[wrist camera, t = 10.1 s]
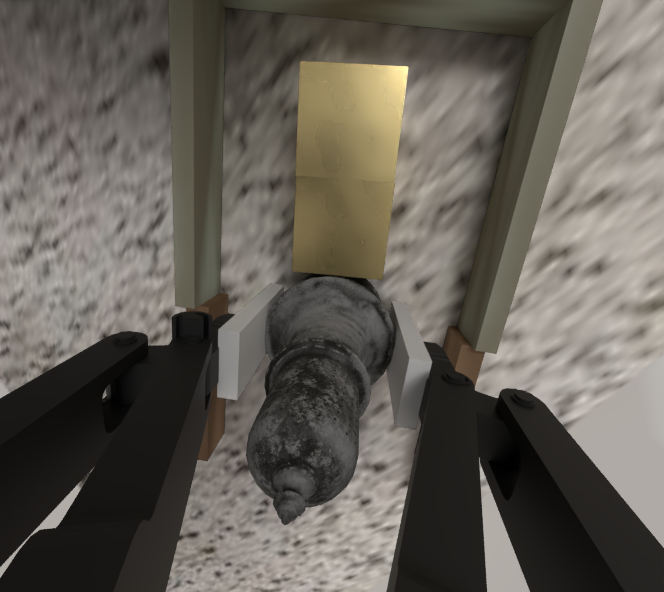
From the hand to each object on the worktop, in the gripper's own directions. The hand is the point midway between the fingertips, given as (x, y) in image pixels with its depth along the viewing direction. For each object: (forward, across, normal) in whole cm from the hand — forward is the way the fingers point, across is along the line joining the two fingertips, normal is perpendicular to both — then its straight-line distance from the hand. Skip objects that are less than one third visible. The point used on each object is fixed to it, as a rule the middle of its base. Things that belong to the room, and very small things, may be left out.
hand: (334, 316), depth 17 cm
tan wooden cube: (+1, 0, +5) cm, 5 cm away
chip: (+1, 0, +9) cm, 9 cm away
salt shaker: (+1, 0, 0) cm, 1 cm away
